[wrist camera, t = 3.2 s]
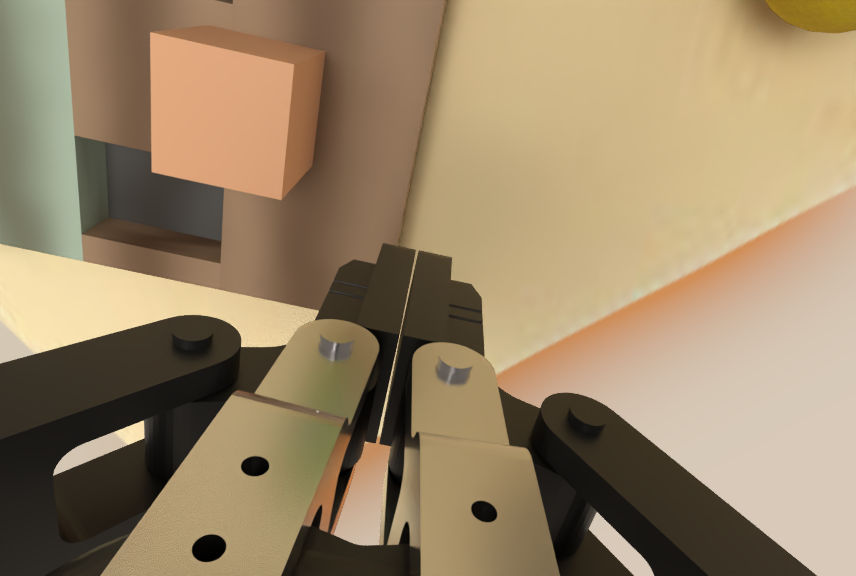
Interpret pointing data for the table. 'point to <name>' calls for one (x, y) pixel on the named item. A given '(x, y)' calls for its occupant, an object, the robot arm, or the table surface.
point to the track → (192, 201)
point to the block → (233, 108)
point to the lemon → (817, 14)
